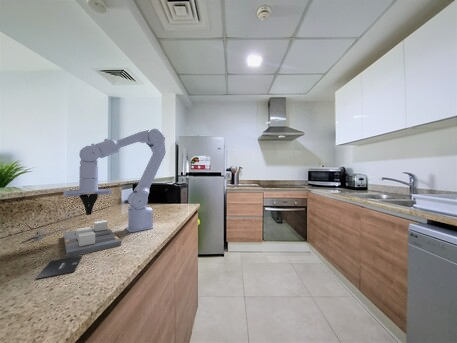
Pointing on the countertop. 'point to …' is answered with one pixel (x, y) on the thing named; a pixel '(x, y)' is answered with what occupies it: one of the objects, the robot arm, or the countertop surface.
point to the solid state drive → (60, 267)
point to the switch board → (102, 241)
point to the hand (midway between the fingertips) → (88, 214)
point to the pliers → (39, 236)
